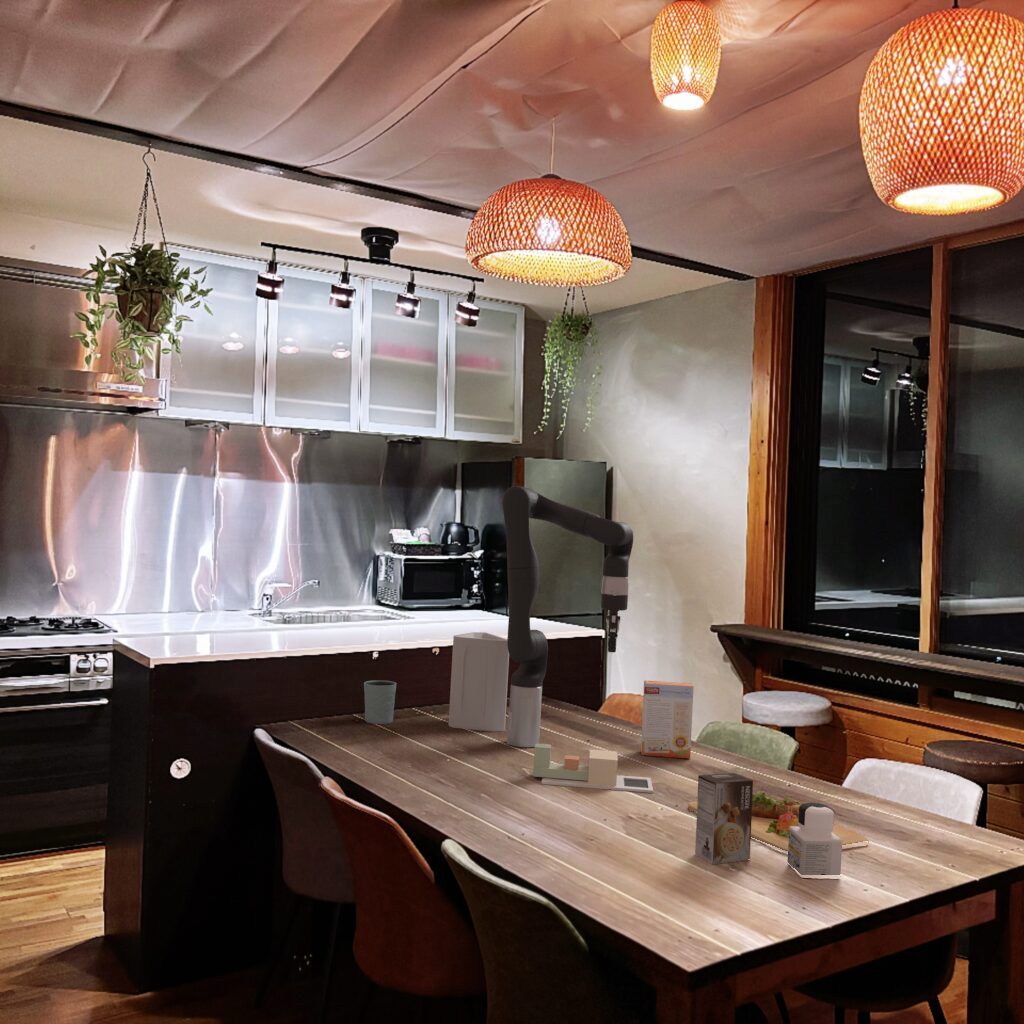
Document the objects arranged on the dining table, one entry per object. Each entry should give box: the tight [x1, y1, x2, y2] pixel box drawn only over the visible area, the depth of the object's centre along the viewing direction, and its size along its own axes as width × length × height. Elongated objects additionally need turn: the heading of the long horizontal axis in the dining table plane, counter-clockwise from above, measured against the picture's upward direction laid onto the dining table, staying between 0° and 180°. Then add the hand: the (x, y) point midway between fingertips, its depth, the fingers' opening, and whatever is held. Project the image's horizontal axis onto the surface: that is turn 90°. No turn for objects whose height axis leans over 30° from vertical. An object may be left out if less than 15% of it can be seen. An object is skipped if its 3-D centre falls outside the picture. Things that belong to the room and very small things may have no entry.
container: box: [786, 802, 843, 875], centre depth 186 cm, size 8×8×13 cm
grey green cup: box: [363, 679, 397, 725], centre depth 301 cm, size 10×10×12 cm
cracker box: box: [640, 680, 694, 760], centre depth 276 cm, size 14×6×21 cm, turn 84°
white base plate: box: [541, 749, 654, 794], centre depth 243 cm, size 28×12×7 cm, turn 84°
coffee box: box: [694, 772, 754, 865], centre depth 192 cm, size 9×6×16 cm
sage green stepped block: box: [532, 743, 589, 781], centre depth 244 cm, size 14×6×7 cm, turn 85°
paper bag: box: [448, 631, 510, 733], centre depth 302 cm, size 19×15×28 cm
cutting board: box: [688, 790, 869, 851], centre depth 215 cm, size 35×23×8 cm
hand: (611, 650), depth 270 cm, fingers open, 8 cm apart
